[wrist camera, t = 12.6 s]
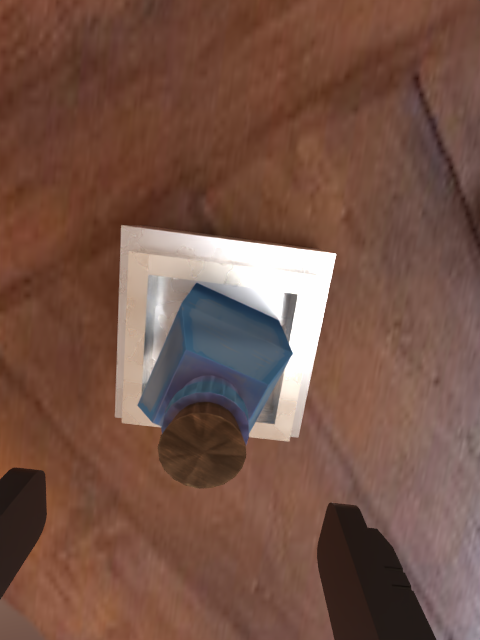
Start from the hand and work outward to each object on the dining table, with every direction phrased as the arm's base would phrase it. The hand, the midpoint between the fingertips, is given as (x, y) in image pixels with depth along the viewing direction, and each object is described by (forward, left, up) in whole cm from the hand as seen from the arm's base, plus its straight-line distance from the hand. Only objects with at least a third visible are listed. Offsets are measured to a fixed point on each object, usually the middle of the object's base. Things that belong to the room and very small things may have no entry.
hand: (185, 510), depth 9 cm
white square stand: (0, 0, -20) cm, 20 cm away
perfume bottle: (0, 0, -15) cm, 15 cm away
